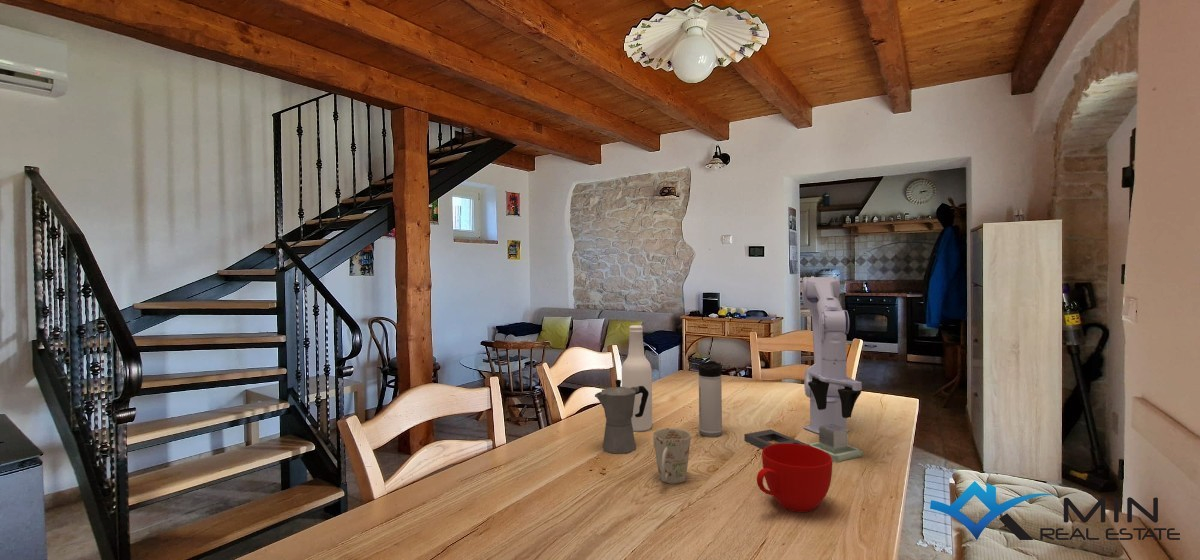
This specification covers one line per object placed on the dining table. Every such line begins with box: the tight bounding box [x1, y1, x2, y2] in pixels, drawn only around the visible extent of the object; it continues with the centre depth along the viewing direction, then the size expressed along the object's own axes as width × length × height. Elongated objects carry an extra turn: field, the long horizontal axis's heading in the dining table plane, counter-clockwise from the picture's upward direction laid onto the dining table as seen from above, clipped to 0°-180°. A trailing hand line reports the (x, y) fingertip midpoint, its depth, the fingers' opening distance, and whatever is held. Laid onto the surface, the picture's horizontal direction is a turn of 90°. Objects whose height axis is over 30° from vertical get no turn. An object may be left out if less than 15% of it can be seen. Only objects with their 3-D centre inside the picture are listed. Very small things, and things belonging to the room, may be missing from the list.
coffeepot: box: [594, 379, 649, 455], centre depth 135 cm, size 15×9×18 cm, turn 113°
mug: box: [652, 427, 692, 484], centre depth 113 cm, size 8×13×10 cm, turn 161°
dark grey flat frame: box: [743, 429, 829, 454], centre depth 131 cm, size 20×9×2 cm, turn 23°
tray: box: [807, 441, 864, 463], centre depth 128 cm, size 9×9×2 cm
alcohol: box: [621, 324, 653, 432], centre depth 151 cm, size 9×9×30 cm
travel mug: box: [698, 360, 723, 438], centre depth 145 cm, size 6×7×20 cm
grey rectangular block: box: [818, 424, 848, 455], centre depth 128 cm, size 4×4×6 cm
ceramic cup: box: [756, 443, 833, 513], centre depth 101 cm, size 13×17×10 cm
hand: (833, 413), depth 128 cm, fingers open, 7 cm apart
